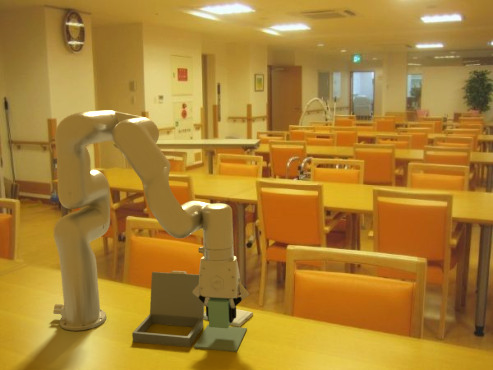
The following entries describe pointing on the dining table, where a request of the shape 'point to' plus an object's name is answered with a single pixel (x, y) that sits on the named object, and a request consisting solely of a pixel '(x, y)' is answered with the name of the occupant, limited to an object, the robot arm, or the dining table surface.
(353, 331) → the dining table surface
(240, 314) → the hard drive
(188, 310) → the lid
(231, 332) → the mat
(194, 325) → the case
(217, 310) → the block
